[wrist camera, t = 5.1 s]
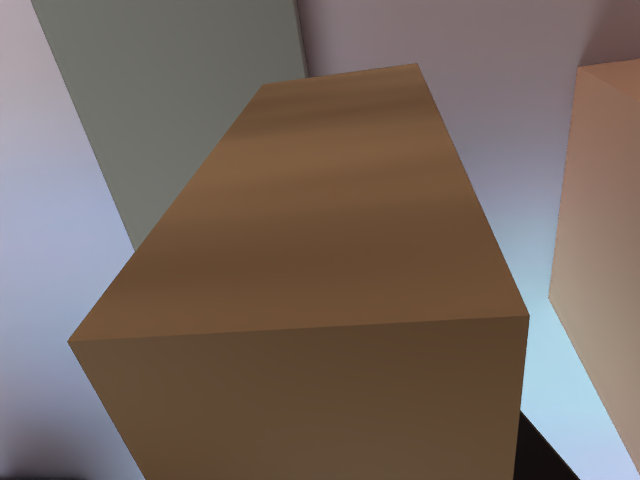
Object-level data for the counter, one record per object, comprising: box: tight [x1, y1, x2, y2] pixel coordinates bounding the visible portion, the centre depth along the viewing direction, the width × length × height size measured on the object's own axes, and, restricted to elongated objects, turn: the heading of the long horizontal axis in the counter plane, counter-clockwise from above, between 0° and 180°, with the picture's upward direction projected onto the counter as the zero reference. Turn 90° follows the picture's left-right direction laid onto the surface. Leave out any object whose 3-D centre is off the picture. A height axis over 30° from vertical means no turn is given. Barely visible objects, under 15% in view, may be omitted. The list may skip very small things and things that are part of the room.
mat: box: [31, 0, 309, 251], centre depth 12 cm, size 12×6×1 cm, turn 9°
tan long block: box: [67, 63, 530, 480], centre depth 8 cm, size 10×2×6 cm, turn 9°
